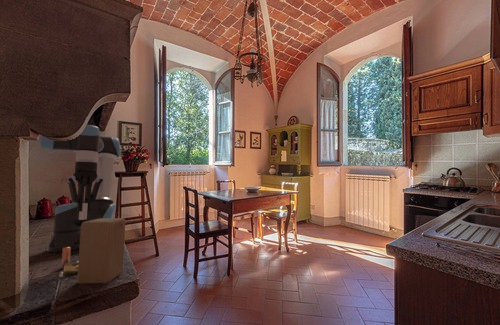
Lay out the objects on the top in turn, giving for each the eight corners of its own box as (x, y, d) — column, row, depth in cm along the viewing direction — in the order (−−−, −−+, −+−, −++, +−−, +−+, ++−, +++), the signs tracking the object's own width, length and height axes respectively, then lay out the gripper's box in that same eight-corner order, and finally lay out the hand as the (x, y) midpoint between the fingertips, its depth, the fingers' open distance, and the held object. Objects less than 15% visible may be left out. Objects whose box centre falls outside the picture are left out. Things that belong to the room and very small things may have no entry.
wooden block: (123, 274, 82) (126, 217, 84) (107, 286, 72) (110, 221, 74) (95, 274, 82) (99, 218, 84) (75, 286, 72) (79, 222, 74)
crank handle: (52, 268, 84) (54, 249, 85) (74, 263, 90) (76, 245, 91) (68, 275, 78) (70, 254, 78) (91, 269, 84) (92, 249, 84)
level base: (62, 272, 84) (63, 265, 84) (92, 268, 88) (92, 261, 89) (56, 281, 76) (57, 273, 76) (89, 275, 81) (89, 268, 81)
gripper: (98, 163, 103) (95, 217, 100) (63, 161, 91) (58, 220, 89) (108, 162, 99) (104, 218, 96) (72, 159, 88) (67, 222, 85)
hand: (82, 219), depth 93 cm, fingers closed
